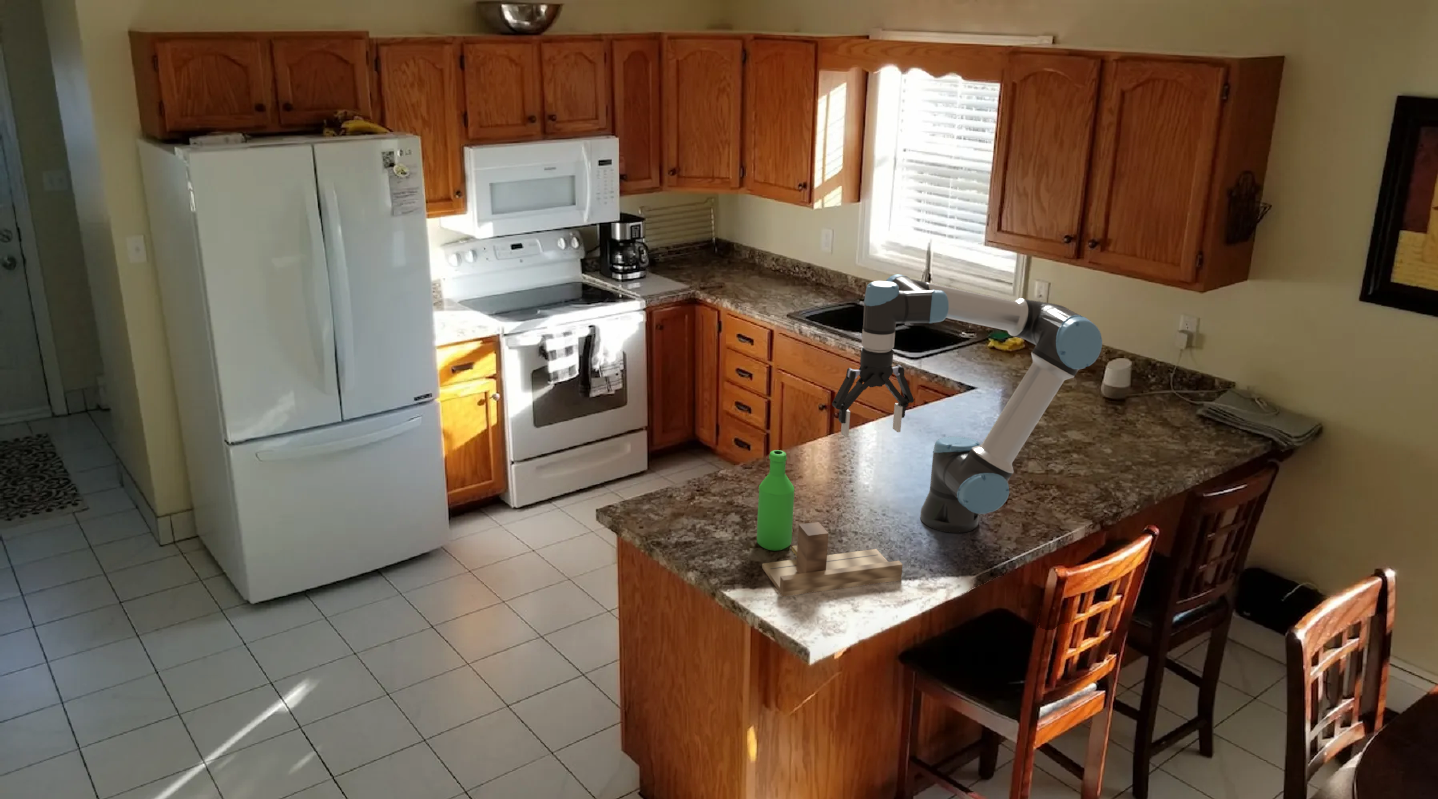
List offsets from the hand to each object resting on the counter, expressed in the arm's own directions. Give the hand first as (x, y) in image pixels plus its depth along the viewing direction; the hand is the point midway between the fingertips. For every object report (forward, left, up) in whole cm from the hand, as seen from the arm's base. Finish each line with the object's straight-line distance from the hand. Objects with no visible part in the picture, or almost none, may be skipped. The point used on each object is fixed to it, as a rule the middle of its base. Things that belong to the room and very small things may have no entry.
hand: (870, 432), depth 258 cm
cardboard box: (+18, +6, -30) cm, 36 cm away
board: (+12, +9, -32) cm, 35 cm away
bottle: (+20, -9, -32) cm, 39 cm away
